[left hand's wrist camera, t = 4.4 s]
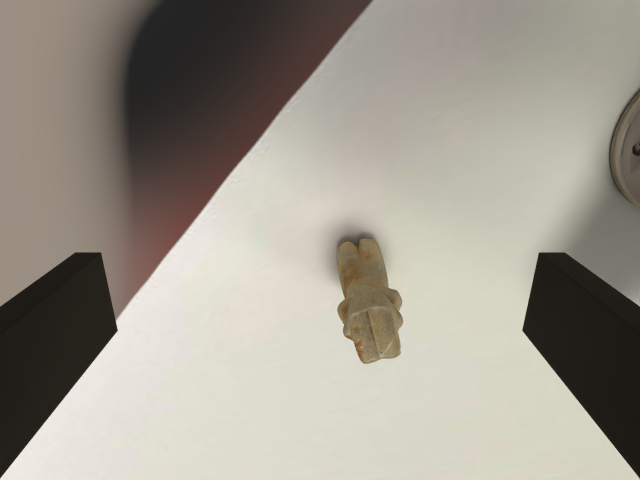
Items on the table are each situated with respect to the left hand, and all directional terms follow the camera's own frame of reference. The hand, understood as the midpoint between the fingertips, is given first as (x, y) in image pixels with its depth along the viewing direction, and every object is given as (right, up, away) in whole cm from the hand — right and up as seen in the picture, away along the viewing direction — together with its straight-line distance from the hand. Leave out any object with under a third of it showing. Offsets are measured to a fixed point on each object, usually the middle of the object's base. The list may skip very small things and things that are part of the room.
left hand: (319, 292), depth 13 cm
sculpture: (+4, -1, +33) cm, 33 cm away
